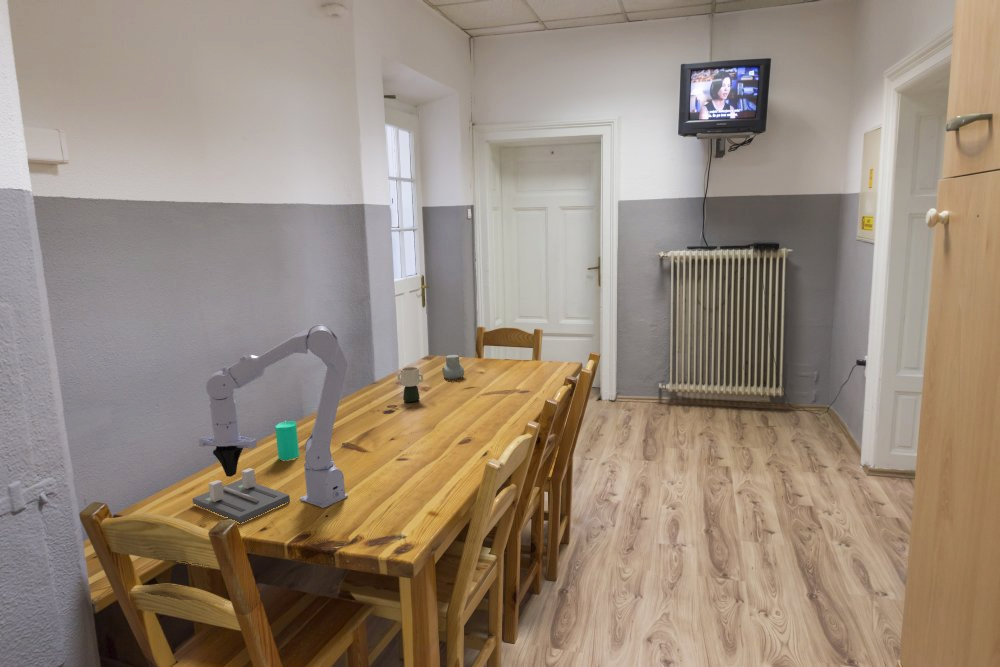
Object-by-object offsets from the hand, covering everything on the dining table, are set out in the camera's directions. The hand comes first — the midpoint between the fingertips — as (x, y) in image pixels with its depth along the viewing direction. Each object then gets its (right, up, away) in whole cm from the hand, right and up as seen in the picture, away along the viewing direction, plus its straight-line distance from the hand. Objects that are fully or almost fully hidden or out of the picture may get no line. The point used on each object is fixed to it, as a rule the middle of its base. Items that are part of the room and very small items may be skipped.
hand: (231, 475), depth 155 cm
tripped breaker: (-5, -7, +3) cm, 9 cm away
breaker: (0, -5, +10) cm, 12 cm away
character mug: (+31, +8, +94) cm, 99 cm away
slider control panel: (0, -9, +5) cm, 10 cm away
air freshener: (+45, +14, +128) cm, 137 cm away
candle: (+2, -3, +37) cm, 37 cm away
